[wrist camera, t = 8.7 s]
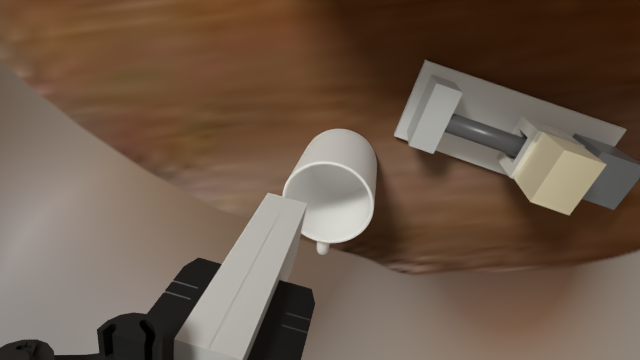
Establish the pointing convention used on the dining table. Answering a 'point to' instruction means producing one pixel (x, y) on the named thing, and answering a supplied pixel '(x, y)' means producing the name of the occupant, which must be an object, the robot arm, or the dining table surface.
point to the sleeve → (551, 166)
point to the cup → (335, 187)
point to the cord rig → (505, 127)
